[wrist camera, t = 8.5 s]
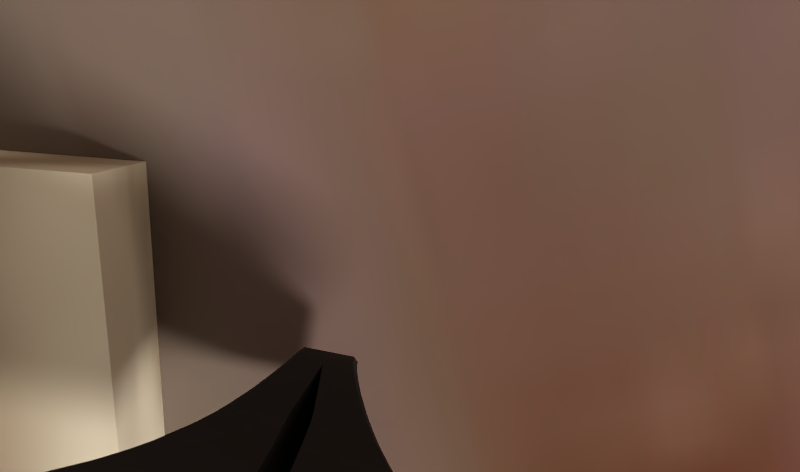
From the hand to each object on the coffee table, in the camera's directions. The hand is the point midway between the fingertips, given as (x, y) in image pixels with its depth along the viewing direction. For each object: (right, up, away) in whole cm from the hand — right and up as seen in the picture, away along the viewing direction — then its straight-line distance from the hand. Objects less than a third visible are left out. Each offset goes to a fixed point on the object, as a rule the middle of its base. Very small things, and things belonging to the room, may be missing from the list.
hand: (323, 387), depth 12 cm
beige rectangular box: (-8, +2, +2) cm, 8 cm away
